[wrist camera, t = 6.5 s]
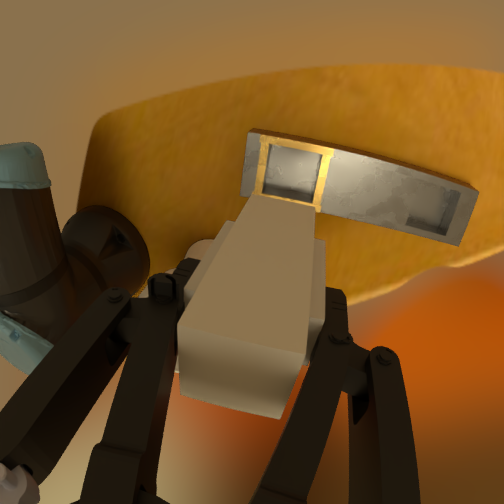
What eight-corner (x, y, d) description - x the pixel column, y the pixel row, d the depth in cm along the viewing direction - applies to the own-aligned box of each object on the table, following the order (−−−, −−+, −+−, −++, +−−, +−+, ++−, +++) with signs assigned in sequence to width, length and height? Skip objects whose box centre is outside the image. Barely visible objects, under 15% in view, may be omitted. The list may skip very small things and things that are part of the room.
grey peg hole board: (245, 187, 37) (239, 196, 34) (253, 128, 33) (247, 132, 31) (450, 235, 35) (459, 247, 32) (468, 183, 31) (480, 192, 28)
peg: (243, 249, 22) (180, 394, 12) (251, 193, 20) (177, 323, 10) (302, 261, 22) (280, 419, 11) (315, 206, 20) (305, 354, 9)
